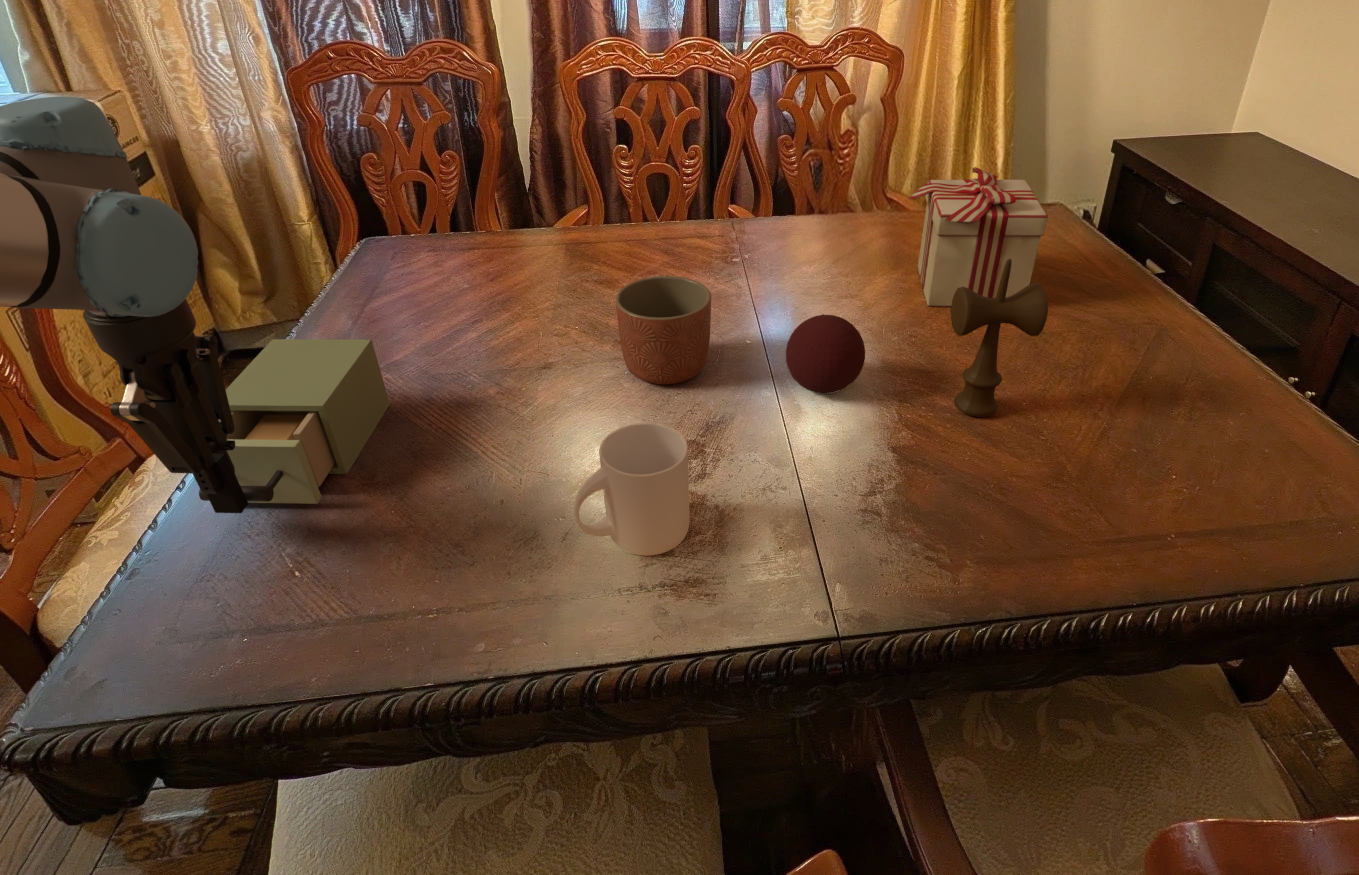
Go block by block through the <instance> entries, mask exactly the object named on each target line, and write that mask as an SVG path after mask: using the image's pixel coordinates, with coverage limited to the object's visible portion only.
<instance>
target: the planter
mask: <svg viewBox="0 0 1359 875" xmlns="http://www.w3.org/2000/svg"><path fill="white" fill-rule="evenodd" d="M614 303H615V308H616V309H615V310H616V318H617V326H618V334H619V341H620V348H621V351H622V357H623V361H624V363H625V365H626V368H627V369H628V371H629V372H630V373H631V374H632V375H633V376H634V377H635V378H637V379H639V380H641V381H644V382H646V383H650V384H655V385H675V384H680V383H682V382H686V381H688V380H691V379H692V378H694V377H696V376H697V375H698V374H699V373H700V372H702V370H703V369H704V367H705V366H706V363H707V360H708V356H709V350H710V343H711V342H710V341H711V340H710V339H711V323H712V322H711V320H712V293H711V291H710V290H709V288H708V287H707V286H705V284H703V283H701V282H699V281H697V280H694V279H691V278H689V277H688V278H687V277H682V276H675V275H674V276H672V275H661V276H659V275H658V276H650V277H646V278H641V279H637V280H635V281H632V282H630V283H628V284H627V285H625V286H623V287H622V288H620V290H619V291H618V292H617V293H616V295H615V302H614Z"/></svg>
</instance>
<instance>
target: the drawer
mask: <svg viewBox="0 0 1359 875" xmlns="http://www.w3.org/2000/svg"><path fill="white" fill-rule="evenodd" d="M231 414H232V418H233V422H234V427H235V429H234V432H233V433H232V434H228V435H227V438H226V439H227V440H231V441H235V448H234V449H233V450H227V452H228V454H229V456H230V458H231V461H232V463H233V465H234V468H235V475H236V477H237V480H238V482H239V484H240V486H241V488H242V491H243V493H244V495H245V497H246V499H247V501H248V504H250V503H251V504H253V503H254V504H306V505H307V504H310V505H311V504H312V505H313V504H314V505H316V504H319V502H320V500H321V498H322V494H321V492H320V489H319V488H320V487H321V486H322V484H323V483H324V481H325V479H326V478H327V477H328V475H329V474H328V473H329V471H330V470H331V468H332V467H333V465H334V464H335V462H336V460H335V457H334V454H333V451H332V448H331V445H330V443H329V440H328V437H327V434H326V431H325V429H324V426H323V423H322V420H321V417H320V414H319V411H231ZM264 415H306V417H305V418H304V420H303V421H302V422H301V424H300V425H299V426H298V428H297V429H296V430H295V432H294V433H293V436H294V438H295V440H245V438H246V437H247V436H248V435H249V433H250V432H251V431H252V430H253V429H254V427H255V426H256V425H257V424H258V423H259V421H260V420H261V419H262V418H263V417H264ZM218 421H219V420H218ZM219 422H221V421H219ZM198 497H199V499H200V500H201V501H203V502H204V501H205V502H207V501H208V502H210V501H209V499H208V497H207V495H206V494H204V493H203V492H202V491H201V490H200V489H199V490H198Z"/></svg>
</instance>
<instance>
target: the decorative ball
mask: <svg viewBox="0 0 1359 875" xmlns="http://www.w3.org/2000/svg"><path fill="white" fill-rule="evenodd" d="M865 360H866V347H865V342H864V339H863V337H862V335H861V333H860V331H859V329H857V328H856V327H855V325H853V324H852V323H851V322H850V321H848V320H847V319H845V318H844V317H840V316H839V315H838V316H836V315H833V314H820V315H818V314H817V315H814V316H811V317H809V318H807V319H805V320H804V321H802V322H801V323H799V325H798V326H796V327H795V329H794V330H793V331H792V332H791V334H790V336H789V339H788V341H787V343H786V348H785V363H786V366H787V369H788V372H789V373H790V375H791V377H792V378H793V380H795V382H796V383H797V384H798V385H800V386H801V387H802V388H803V389H806V390H807V391H810V392H812V393H815V394H825V395H826V394H834V393H837V392H839V391H840V392H841V391H842V390H845V389H846V388H847V387H849V386H850V385H851V384H854V382H855V381H856V379H857V378H858V377H859V376H860V374H861V372H862V370H863V368H864V364H865Z"/></svg>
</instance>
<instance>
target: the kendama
mask: <svg viewBox="0 0 1359 875" xmlns="http://www.w3.org/2000/svg"><path fill="white" fill-rule="evenodd" d="M1011 264H1012V261H1011V259H1008V260H1007V261H1006V263H1005V266H1004V270H1003V273H1002V277H1001V280H1000V284H999V288H998V291H997V295H996V298H988V297H984V296H981V295H979V294H977V293H975V292H974V291H972V290H970V289H968V288H966V287H960V288H957V290H956V292H955V294H954V296H953V300H952V305H951V307H950V321H951V327H952V329H953V332H954V333H955V334H956V335H957V336H959V337H962V336H966V335H969V334H971V333H973V332H974V331H977V330H978V329H980V328H982V327H984V326H986V329H985V331H984V335H983V338H982V340H981V343H980V346H979V348H978V351H977V353H976V356H975V358H974V360H973V362H972V364H971V365H970V366H969V367H967V368H965V369H963V371H962V373H961V374H962V379H963V380H964V387H963V390H962V391H960V392H959V393H957V394H956V396H955V397H954V399H953V401H954V406H955V407H956V409H957V410H958V411H960V412H961V413H963V414H964V415H968V416H971V417H979V418H983V417H988V416H991V415H993V414H996V412H997V410H998V408H999V405H998V401H997V400H996V398H995V391H996V388H997V387H998V386H1000V385H1001V382H1002V381H1003V378H1002V375H1001V373H1000V372H999V371H998V349H999V339H1000V332H1001V331H1000V330H1001V325H1002V324H1006V325H1008V324H1009V325H1012V326H1014V327H1015V328H1017V329H1019V330H1021V331H1022V332H1023V333H1024V334H1027V335H1028V336H1030V337H1038V336H1039V335H1041V333H1042V332H1043V330H1044V329H1045V326H1046V323H1047V321H1048V320H1047V319H1048V314H1049V300H1048V295H1047V292H1046V290H1045V288H1044V286H1043V285H1042V284H1040V283H1039V282H1034V283H1030V285H1028V286H1026V287H1025V288H1023V289H1022V290H1020V291H1019V292H1017V293H1015V294H1014V295H1012V296H1009V297H1006V292H1007V287H1008V282H1009V277H1010V271H1011Z"/></svg>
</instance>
